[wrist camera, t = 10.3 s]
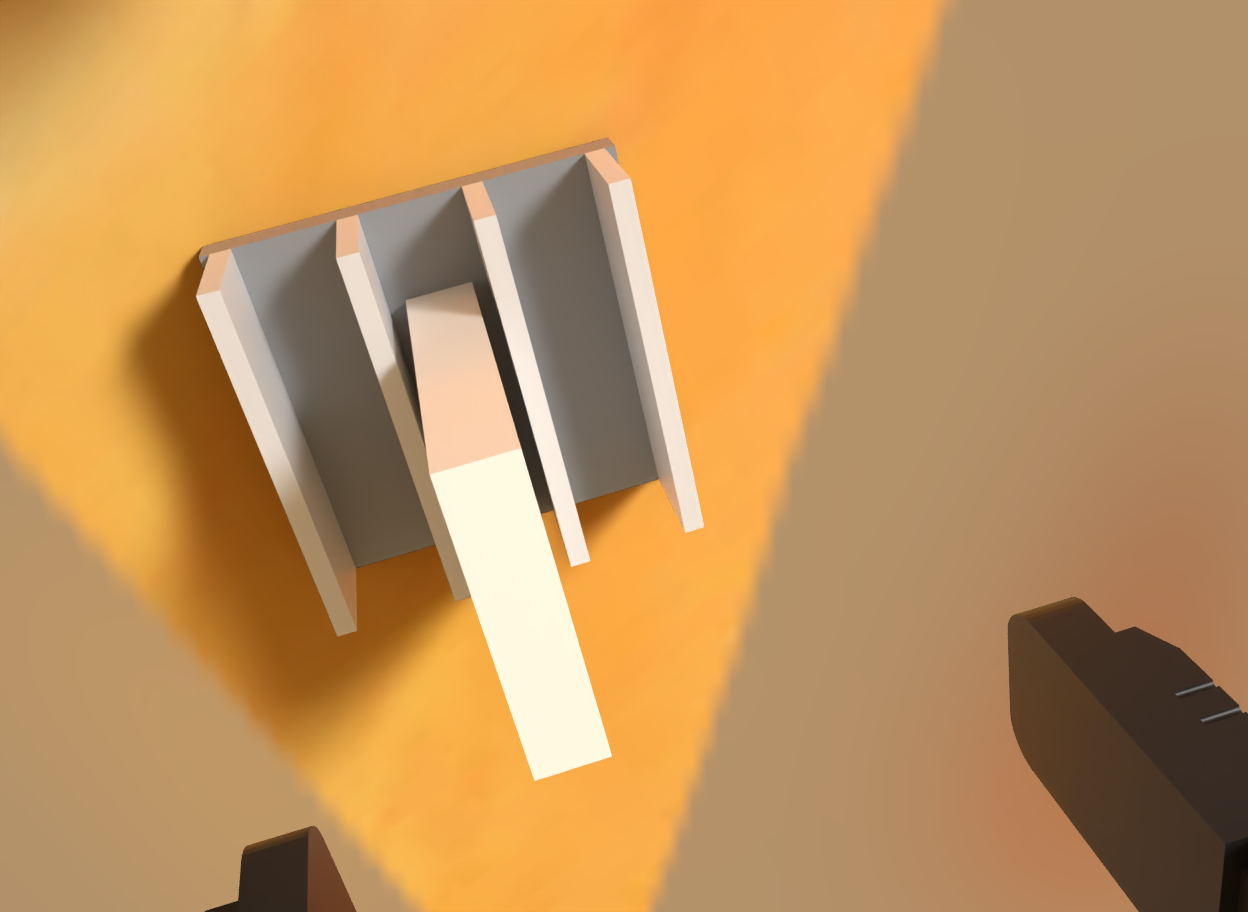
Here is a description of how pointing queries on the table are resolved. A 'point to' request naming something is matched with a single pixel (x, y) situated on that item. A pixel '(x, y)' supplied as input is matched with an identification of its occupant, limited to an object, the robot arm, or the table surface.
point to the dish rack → (384, 365)
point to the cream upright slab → (501, 533)
